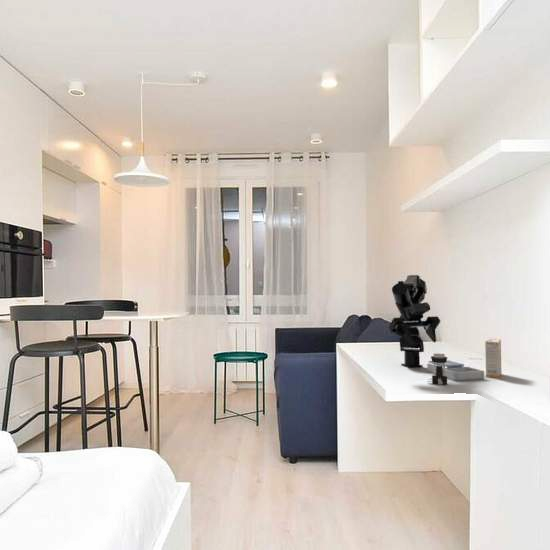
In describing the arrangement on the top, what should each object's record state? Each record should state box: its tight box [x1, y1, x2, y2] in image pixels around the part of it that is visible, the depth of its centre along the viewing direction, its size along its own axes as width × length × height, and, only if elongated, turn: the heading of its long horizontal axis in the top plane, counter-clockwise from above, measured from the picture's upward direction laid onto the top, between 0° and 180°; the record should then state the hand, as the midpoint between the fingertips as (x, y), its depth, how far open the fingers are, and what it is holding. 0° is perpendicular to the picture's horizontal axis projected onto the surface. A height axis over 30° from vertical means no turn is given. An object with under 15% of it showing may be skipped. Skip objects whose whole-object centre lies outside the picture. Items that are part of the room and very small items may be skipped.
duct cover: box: [428, 359, 465, 368], centre depth 174 cm, size 9×9×1 cm
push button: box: [426, 353, 448, 385], centre depth 156 cm, size 7×5×10 cm
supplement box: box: [484, 338, 502, 379], centre depth 169 cm, size 8×5×13 cm, turn 149°
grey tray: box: [426, 363, 485, 382], centre depth 170 cm, size 19×12×3 cm, turn 15°
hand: (424, 342), depth 163 cm, fingers open, 9 cm apart
